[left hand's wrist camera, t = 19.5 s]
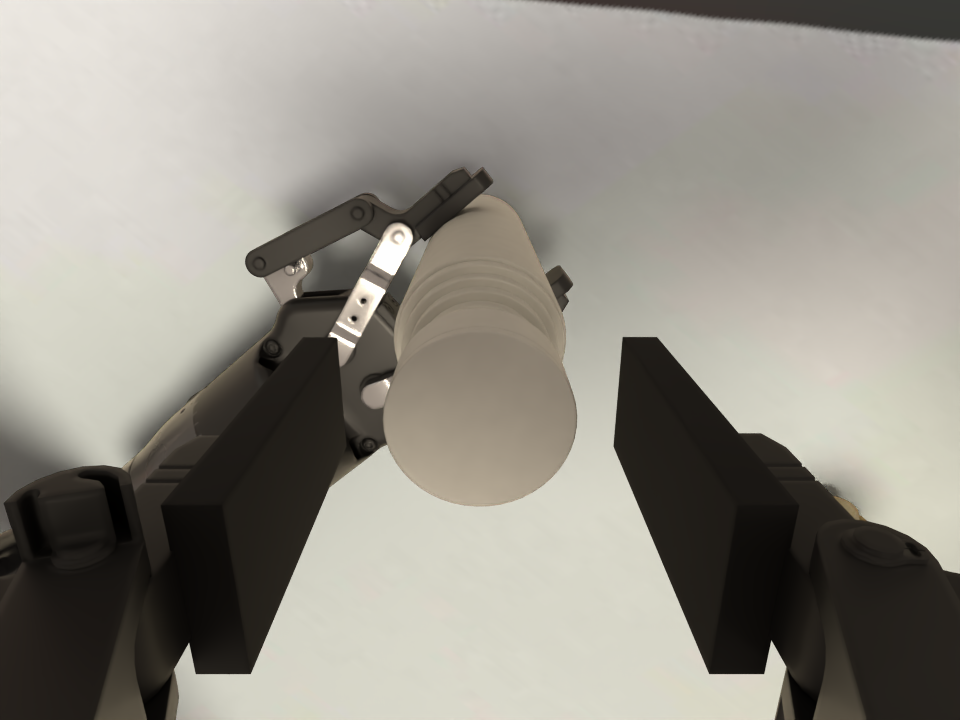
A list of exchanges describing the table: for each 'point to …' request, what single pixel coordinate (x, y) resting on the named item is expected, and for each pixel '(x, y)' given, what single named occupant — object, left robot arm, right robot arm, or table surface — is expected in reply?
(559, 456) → the cap
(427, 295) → the bottle
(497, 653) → the table surface
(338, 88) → the table surface
